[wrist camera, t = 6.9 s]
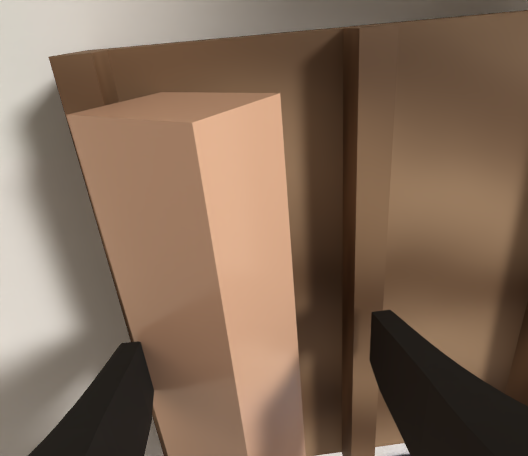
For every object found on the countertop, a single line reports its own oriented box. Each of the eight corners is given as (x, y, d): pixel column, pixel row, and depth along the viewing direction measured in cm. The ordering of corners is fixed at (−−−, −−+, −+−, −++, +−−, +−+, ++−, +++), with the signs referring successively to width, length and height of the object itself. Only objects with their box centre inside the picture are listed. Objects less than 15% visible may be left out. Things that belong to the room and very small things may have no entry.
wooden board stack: (496, 401, 21) (537, 456, 18) (184, 444, 20) (179, 508, 18) (592, 4, 13) (687, -2, 11) (85, 50, 12) (48, 56, 10)
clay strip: (309, 503, 17) (268, 579, 15) (231, 455, 19) (186, 516, 17) (279, 93, 10) (192, 122, 7) (161, 92, 12) (66, 114, 10)
